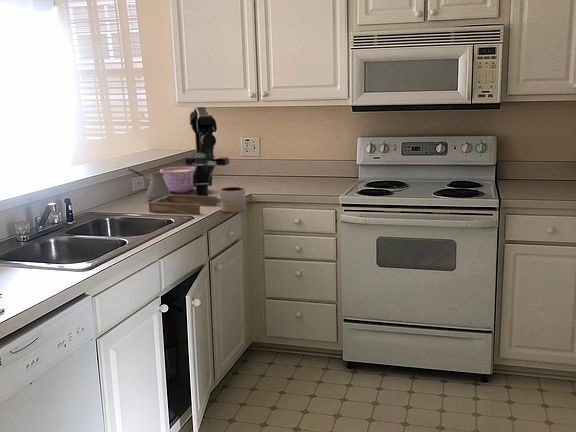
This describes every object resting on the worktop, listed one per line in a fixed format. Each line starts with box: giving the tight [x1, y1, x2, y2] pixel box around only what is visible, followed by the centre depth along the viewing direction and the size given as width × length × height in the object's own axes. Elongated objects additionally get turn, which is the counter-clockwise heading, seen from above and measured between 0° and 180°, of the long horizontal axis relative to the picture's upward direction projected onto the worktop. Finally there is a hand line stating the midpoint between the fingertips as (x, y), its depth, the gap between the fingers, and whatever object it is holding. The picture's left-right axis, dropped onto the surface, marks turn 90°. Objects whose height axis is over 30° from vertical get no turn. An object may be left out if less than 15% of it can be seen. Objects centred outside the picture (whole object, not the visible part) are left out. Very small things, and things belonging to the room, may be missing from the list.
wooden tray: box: [148, 194, 218, 215], centre depth 281 cm, size 20×24×4 cm
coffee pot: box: [126, 167, 172, 202], centre depth 302 cm, size 21×12×15 cm, turn 74°
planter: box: [219, 186, 247, 214], centre depth 274 cm, size 11×11×10 cm
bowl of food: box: [159, 166, 196, 194], centre depth 324 cm, size 20×20×12 cm
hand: (207, 180), depth 278 cm, fingers closed
